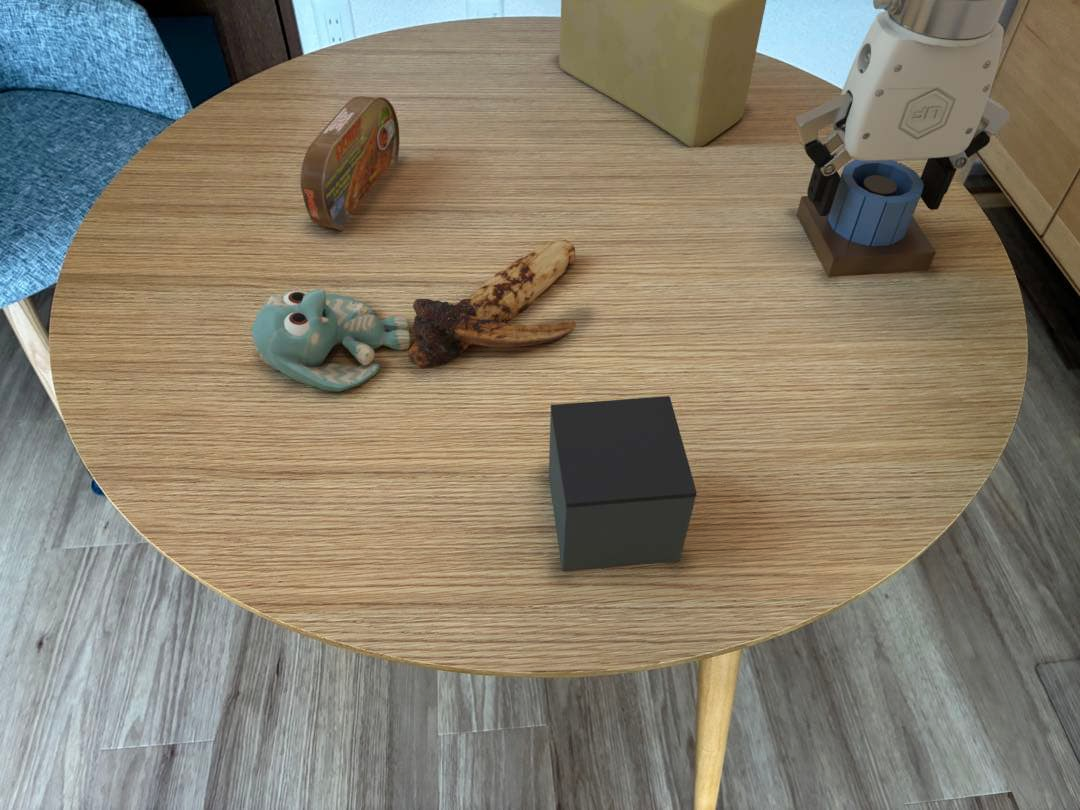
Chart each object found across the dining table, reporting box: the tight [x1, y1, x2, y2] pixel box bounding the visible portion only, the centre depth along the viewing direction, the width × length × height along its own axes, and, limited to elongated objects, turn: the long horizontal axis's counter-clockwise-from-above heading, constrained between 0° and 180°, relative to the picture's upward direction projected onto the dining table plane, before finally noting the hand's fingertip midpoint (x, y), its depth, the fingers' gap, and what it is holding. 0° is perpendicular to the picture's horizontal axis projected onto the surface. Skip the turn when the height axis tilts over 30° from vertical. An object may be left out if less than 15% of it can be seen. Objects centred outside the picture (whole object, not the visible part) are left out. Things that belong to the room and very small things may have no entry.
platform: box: [796, 175, 937, 278], centre depth 75 cm, size 9×9×7 cm
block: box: [548, 395, 698, 572], centre depth 55 cm, size 8×8×8 cm
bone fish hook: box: [408, 239, 577, 370], centre depth 69 cm, size 9×5×18 cm
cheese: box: [558, 0, 767, 149], centre depth 89 cm, size 22×10×15 cm, turn 48°
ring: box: [828, 159, 924, 247], centre depth 74 cm, size 7×7×4 cm
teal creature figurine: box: [250, 288, 413, 393], centre depth 66 cm, size 11×7×12 cm
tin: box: [300, 95, 400, 232], centre depth 79 cm, size 15×3×8 cm, turn 162°
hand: (872, 203), depth 74 cm, fingers open, 9 cm apart
